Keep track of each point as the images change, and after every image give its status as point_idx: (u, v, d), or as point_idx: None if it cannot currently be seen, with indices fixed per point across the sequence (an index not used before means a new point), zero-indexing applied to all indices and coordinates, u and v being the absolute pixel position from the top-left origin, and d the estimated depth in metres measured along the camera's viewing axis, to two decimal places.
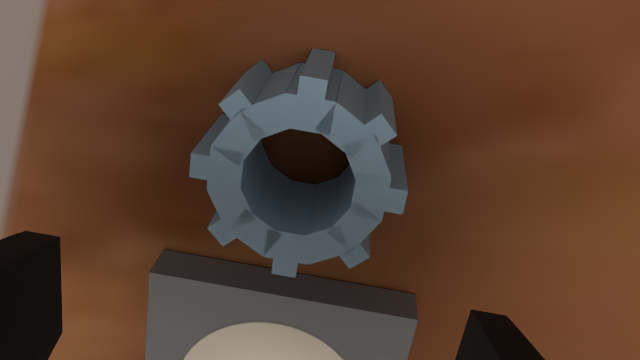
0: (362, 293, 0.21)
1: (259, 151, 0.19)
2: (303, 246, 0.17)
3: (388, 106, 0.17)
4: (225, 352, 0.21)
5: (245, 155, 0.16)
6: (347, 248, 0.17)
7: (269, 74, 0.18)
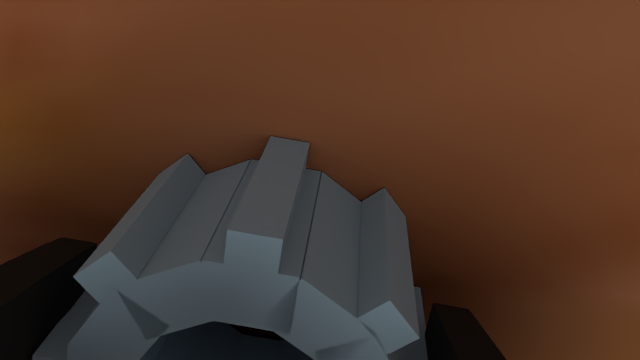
0: None
1: None
2: None
3: (400, 252, 0.09)
4: None
5: None
6: None
7: (197, 181, 0.11)
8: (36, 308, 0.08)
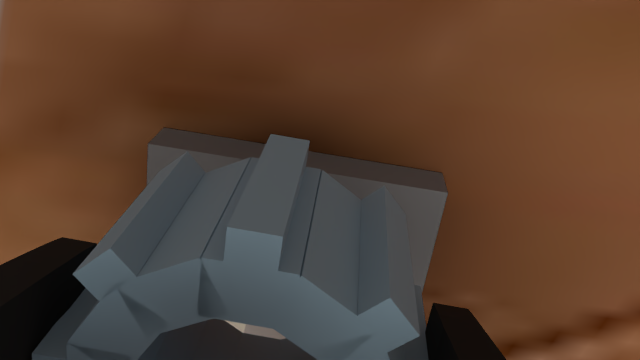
0: (384, 170, 0.19)
1: None
2: None
3: (400, 250, 0.09)
4: None
5: None
6: None
7: (197, 179, 0.11)
8: (36, 309, 0.08)
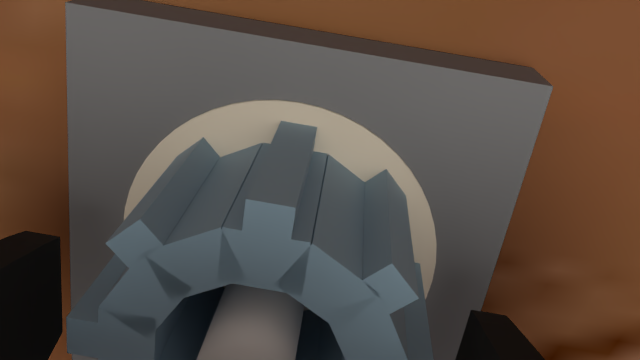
0: (444, 57, 0.12)
1: None
2: None
3: (401, 226, 0.10)
4: None
5: (158, 323, 0.09)
6: None
7: (213, 162, 0.11)
8: None
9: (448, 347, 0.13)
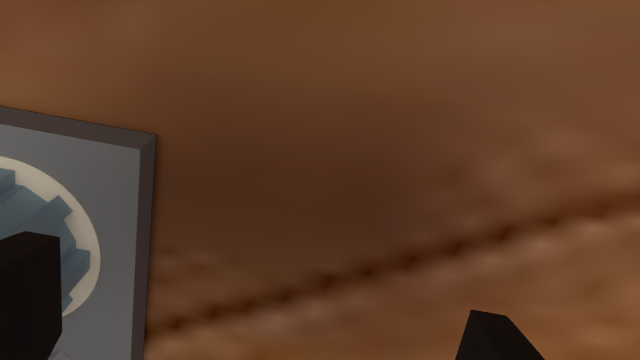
0: (95, 129, 0.20)
1: None
2: None
3: (39, 228, 0.18)
4: None
5: None
6: None
7: None
8: None
9: (121, 303, 0.22)
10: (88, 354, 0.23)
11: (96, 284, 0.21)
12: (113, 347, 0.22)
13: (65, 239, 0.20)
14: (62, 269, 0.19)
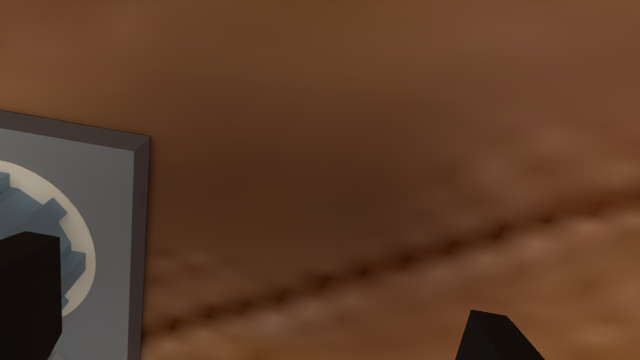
0: (89, 131, 0.20)
1: None
2: None
3: (34, 230, 0.18)
4: None
5: None
6: None
7: None
8: None
9: (117, 305, 0.22)
10: (85, 356, 0.23)
11: (92, 286, 0.21)
12: (109, 349, 0.22)
13: (60, 241, 0.20)
14: None
